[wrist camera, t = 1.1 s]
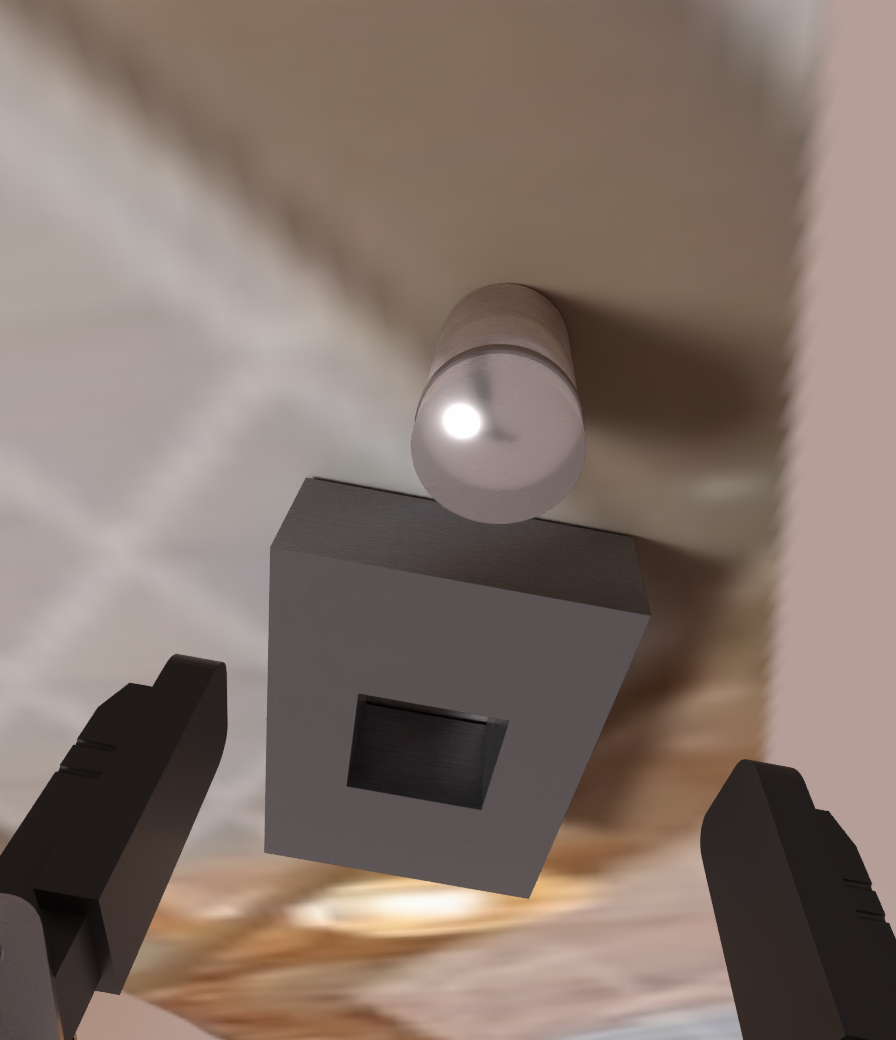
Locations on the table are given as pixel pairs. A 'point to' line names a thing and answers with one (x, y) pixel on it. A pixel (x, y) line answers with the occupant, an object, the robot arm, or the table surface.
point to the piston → (500, 409)
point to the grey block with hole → (437, 683)
